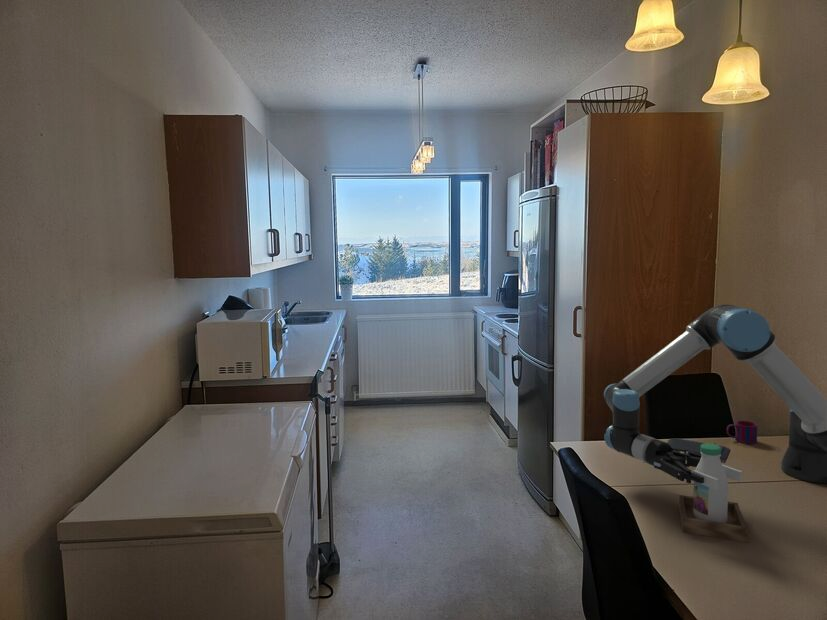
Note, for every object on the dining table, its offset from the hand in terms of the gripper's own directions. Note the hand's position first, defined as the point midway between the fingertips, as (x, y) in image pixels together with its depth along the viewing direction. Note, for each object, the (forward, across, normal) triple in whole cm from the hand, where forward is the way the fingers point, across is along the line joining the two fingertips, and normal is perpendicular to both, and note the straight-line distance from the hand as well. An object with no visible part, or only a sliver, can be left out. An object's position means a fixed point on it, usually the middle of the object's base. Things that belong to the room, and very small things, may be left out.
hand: (729, 480), depth 129 cm
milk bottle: (-5, 0, -13) cm, 13 cm away
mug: (-36, -64, -14) cm, 74 cm away
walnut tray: (-5, 0, -14) cm, 14 cm away
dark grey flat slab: (-39, -42, -14) cm, 59 cm away
